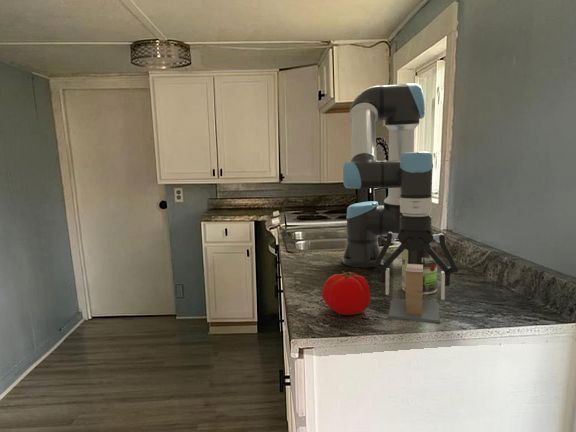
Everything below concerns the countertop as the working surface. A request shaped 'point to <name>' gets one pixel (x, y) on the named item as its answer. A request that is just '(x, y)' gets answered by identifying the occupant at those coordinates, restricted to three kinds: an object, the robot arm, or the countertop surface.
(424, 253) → the coffee can
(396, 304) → the rubber mat
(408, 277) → the tan rectangular block
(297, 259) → the countertop surface
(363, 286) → the tomato
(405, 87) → the robot arm
